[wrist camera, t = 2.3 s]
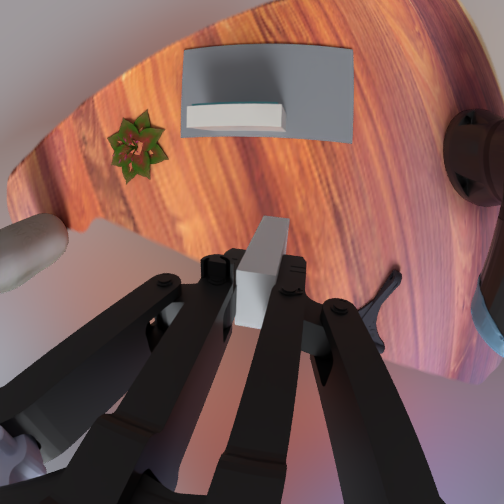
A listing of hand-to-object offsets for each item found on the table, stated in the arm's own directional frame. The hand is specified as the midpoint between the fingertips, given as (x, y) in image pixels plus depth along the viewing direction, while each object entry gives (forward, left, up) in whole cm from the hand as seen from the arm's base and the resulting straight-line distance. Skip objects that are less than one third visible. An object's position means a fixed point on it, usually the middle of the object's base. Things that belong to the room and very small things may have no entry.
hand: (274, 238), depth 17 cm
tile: (+6, -9, -23) cm, 25 cm away
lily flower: (+24, -6, -24) cm, 35 cm away
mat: (+4, -14, -24) cm, 27 cm away
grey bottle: (+45, +9, -24) cm, 52 cm away
